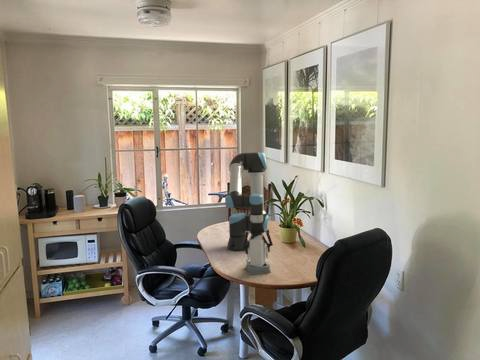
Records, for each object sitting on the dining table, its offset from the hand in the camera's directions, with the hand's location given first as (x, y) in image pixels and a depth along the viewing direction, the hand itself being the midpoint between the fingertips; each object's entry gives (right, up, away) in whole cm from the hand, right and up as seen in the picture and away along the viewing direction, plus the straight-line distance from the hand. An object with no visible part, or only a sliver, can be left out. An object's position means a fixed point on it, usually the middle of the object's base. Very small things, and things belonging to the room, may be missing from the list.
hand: (257, 258), depth 222 cm
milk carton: (0, -4, 0) cm, 4 cm away
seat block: (0, -7, +1) cm, 7 cm away
